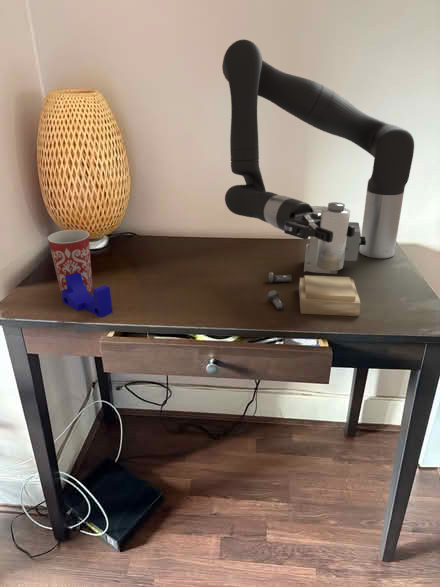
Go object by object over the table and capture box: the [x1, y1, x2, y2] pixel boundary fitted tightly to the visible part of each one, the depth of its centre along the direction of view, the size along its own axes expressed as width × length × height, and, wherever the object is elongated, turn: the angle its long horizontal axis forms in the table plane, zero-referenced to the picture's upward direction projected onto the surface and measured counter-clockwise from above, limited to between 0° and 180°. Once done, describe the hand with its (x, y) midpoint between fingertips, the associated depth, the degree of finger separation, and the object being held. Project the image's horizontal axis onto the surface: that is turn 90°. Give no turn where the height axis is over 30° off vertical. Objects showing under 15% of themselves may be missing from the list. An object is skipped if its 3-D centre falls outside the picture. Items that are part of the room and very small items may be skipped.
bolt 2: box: [267, 289, 285, 311], centre depth 103 cm, size 5×2×2 cm, turn 13°
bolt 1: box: [268, 272, 293, 283], centre depth 114 cm, size 5×2×2 cm, turn 93°
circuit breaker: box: [303, 205, 366, 275], centre depth 119 cm, size 8×14×15 cm, turn 78°
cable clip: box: [60, 273, 113, 318], centre depth 102 cm, size 12×4×6 cm, turn 48°
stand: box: [298, 275, 362, 317], centre depth 104 cm, size 12×12×4 cm
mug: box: [46, 229, 93, 293], centre depth 110 cm, size 13×9×14 cm
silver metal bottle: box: [316, 201, 351, 271], centre depth 98 cm, size 6×6×13 cm
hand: (342, 234), depth 96 cm, fingers closed on silver metal bottle, 5 cm apart
